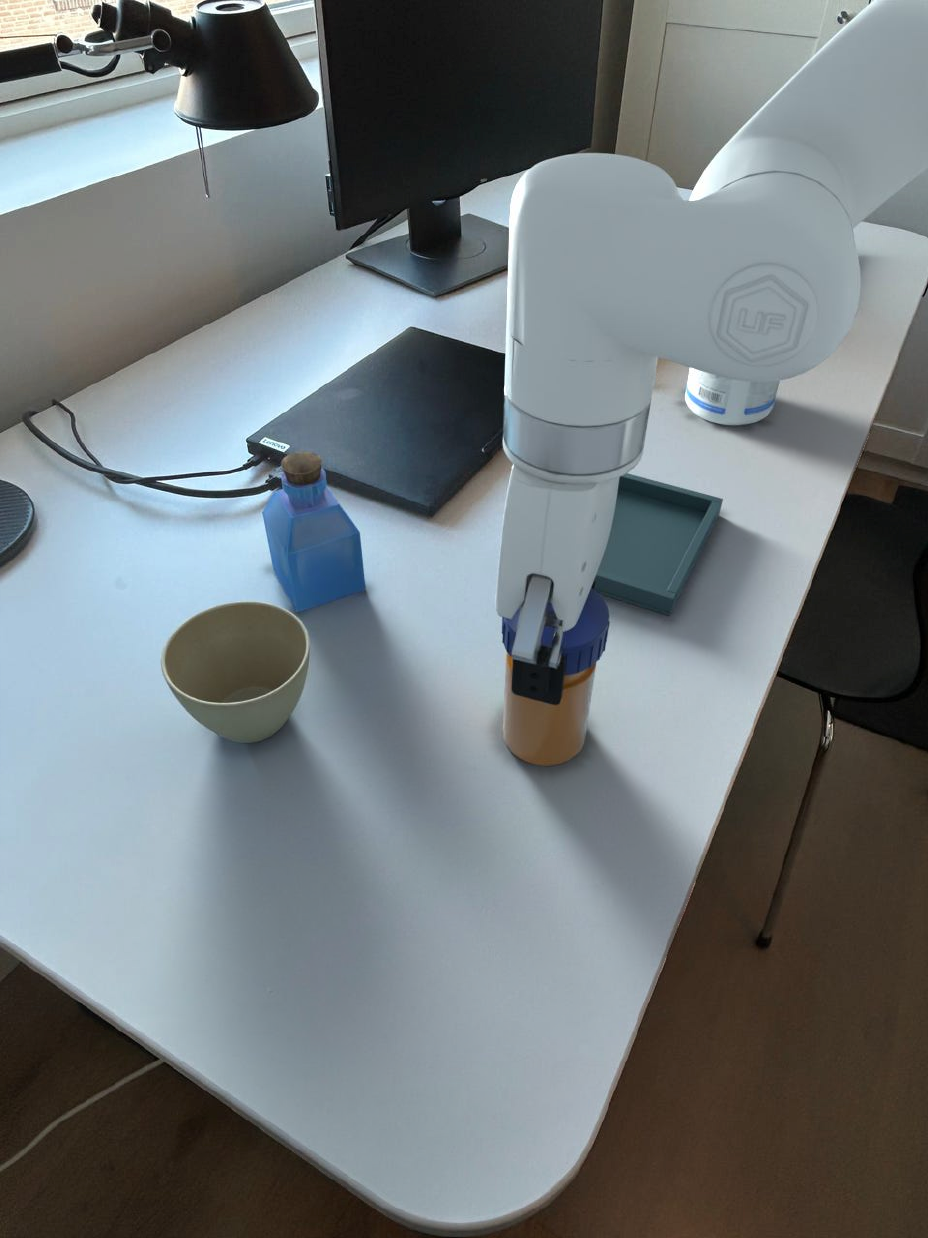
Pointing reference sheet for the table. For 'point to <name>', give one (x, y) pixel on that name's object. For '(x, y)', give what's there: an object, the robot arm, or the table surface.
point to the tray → (654, 542)
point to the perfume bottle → (312, 536)
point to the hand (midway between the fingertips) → (552, 655)
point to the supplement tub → (729, 398)
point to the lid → (572, 634)
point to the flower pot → (238, 668)
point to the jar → (548, 720)
